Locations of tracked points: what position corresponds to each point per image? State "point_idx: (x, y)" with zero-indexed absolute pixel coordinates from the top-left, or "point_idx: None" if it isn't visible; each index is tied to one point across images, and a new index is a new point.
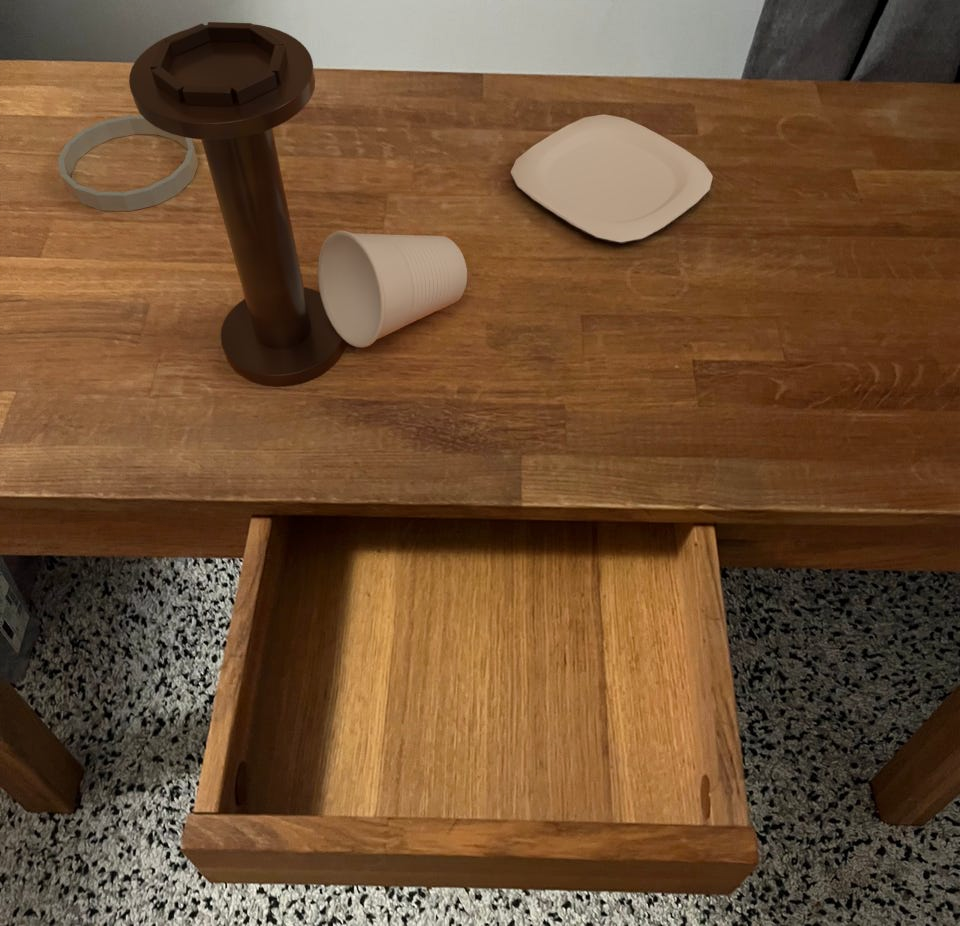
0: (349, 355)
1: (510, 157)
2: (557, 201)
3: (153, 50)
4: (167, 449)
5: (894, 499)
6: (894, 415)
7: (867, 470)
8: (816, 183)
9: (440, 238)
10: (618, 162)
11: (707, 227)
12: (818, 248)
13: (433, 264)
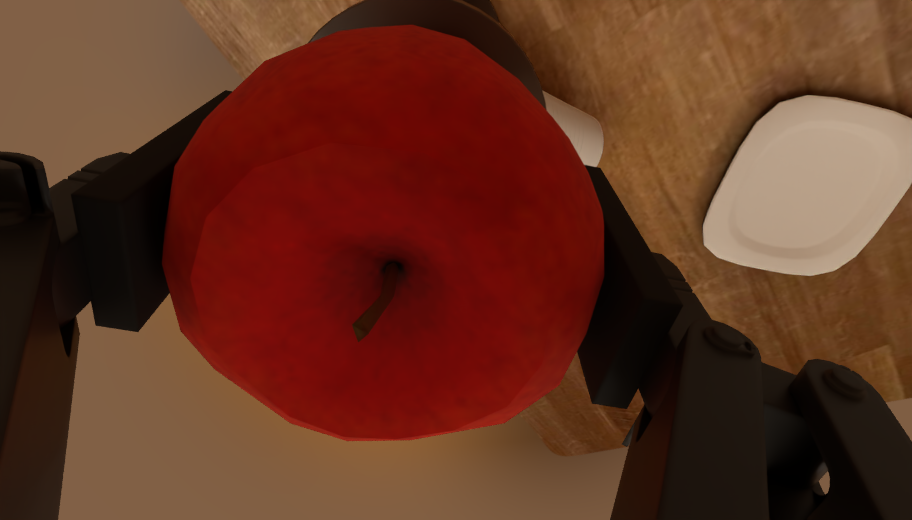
0: None
1: (824, 70)
2: (742, 172)
3: (388, 10)
4: (269, 40)
5: (546, 439)
6: (611, 426)
7: (560, 426)
8: (859, 329)
9: (589, 158)
10: (839, 184)
11: (764, 282)
12: (765, 353)
13: None
